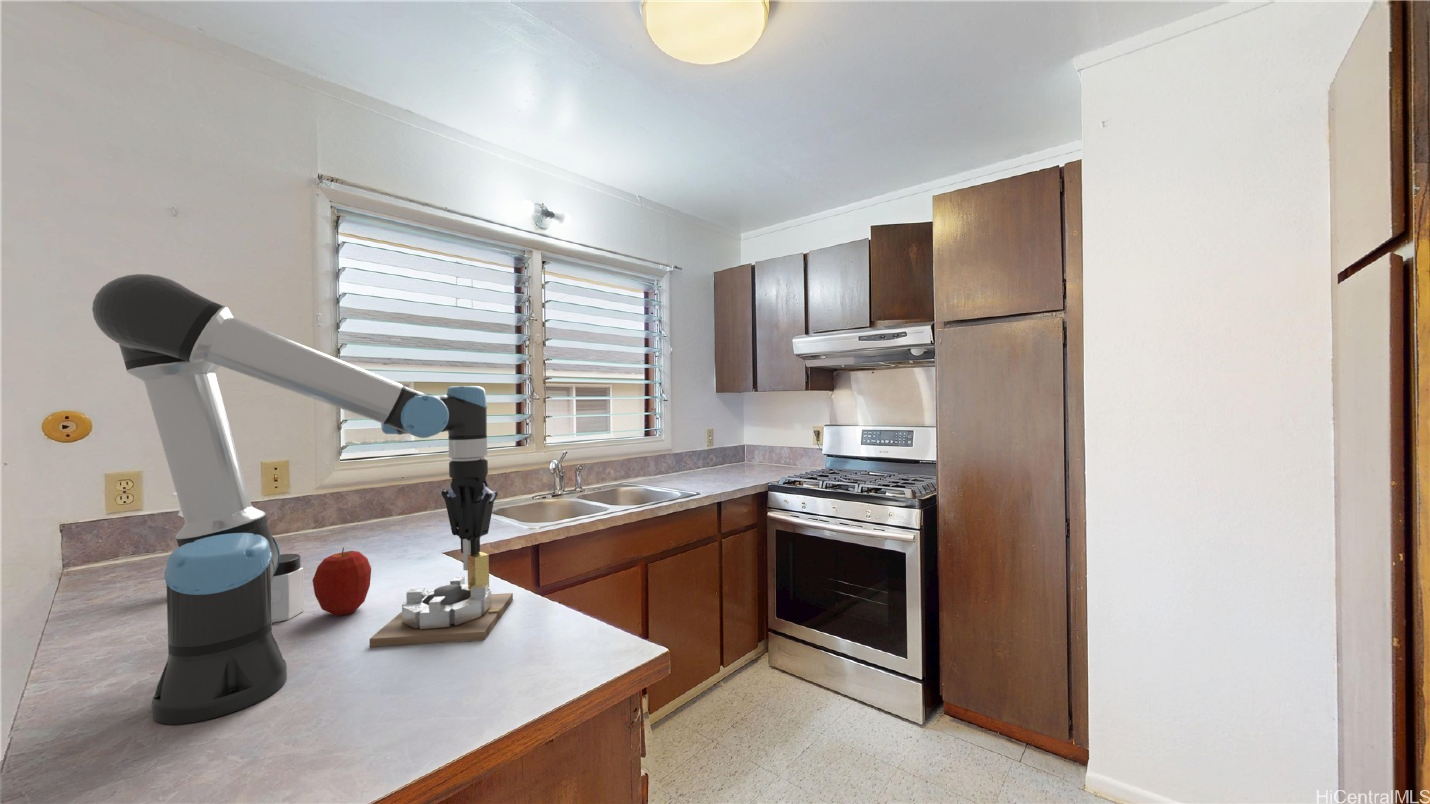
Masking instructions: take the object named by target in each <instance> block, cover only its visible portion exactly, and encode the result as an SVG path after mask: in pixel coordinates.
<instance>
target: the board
mask: <svg viewBox="0 0 1430 804" xmlns="http://www.w3.org/2000/svg"><path fill="white" fill-rule="evenodd" d="M441 586H442V587H441ZM441 586H438V587H439V588H437V587H436V588H437V589H435V590H434V597H442V596H445V603H446V605H452V604H455V603H458V602H461V601H462V586H460V585H450V584H447V585H441ZM513 596H514V593H513V592H508V593H491V606H490V607H489V609H488V610H487V612H486V613H485V614H482V615H481V617H478V618H475V619H472V620H470V621H467V622H464V623H461V624H458V625H456V626H455V625H453V624H451V626H450V627H441V628H427V629H420V627H419V628H416V629H415V628H413V627H411V626H409V625H407V624H405V623H403V621H402V611H401V612H400V613H398V614H397V615H396V616H394V617H393V618H392V619H391V620H390V621H389V622H388V623H386V624H385V625H383V627H382V628H380V629H379V630H378V631H376V633H375V634H373V635H372V636H371V637H370V638H369V648H377V647H392V646H393V647H394V646H406V645H407V646H408V645H425V644H441V643H452V642H453V643H455V642H471V641H472V642H473V641H485V640H486V638H488V636H489V634H490V633H491V631H492V630H494V628H495V626H496V625H497V623H498V622H499V620H500V619H501V617H502V616H503V615H504V613H505V612H506V611H507V609H508V607H509V606H510V604H511V603H512V602H513V600H514V597H513Z"/></svg>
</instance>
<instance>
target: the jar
mask: <svg viewBox="0 0 1430 804" xmlns="http://www.w3.org/2000/svg"><path fill="white" fill-rule="evenodd" d="M301 565H302V564H301V555H300V554H297V553H283V554H281V553H280V559H279V565H278V568H277V570H276V572H275V574H274V576H273V579H272V582H271V624H274V623H280V622H283V621H288V620H291V619H293V618H294V617H296V616H297V615H300V614H301V613H303V612H304V611H305V593H304V592H305V591H304V587H305V585H304V568H303V567H301Z"/></svg>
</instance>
